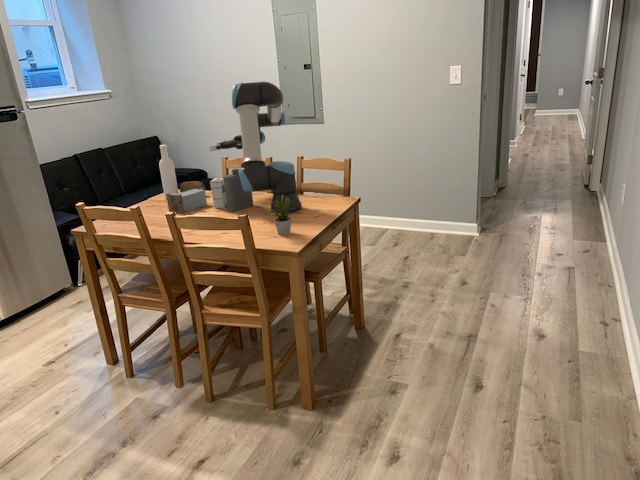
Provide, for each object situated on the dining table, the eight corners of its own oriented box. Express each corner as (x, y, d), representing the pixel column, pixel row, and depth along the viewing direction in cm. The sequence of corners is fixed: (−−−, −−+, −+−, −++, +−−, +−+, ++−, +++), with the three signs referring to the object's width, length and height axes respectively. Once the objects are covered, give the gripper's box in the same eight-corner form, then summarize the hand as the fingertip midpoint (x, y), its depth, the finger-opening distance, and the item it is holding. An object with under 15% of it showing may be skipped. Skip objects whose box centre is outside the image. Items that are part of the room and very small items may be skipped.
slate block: (206, 204, 266) (204, 190, 264) (184, 212, 255) (181, 196, 253) (197, 203, 271) (194, 188, 268) (174, 210, 260) (171, 195, 257)
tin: (180, 196, 288) (178, 182, 285) (183, 195, 290) (180, 181, 288) (204, 196, 284) (202, 181, 281) (207, 195, 287) (204, 180, 284)
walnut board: (184, 211, 255) (181, 194, 252) (181, 212, 254) (178, 195, 251) (172, 209, 261) (169, 192, 258) (168, 210, 259) (165, 193, 256)
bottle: (161, 199, 283) (152, 146, 273) (170, 196, 290) (161, 143, 280) (173, 200, 280) (164, 146, 270) (182, 196, 287) (173, 143, 277)
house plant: (266, 228, 219) (262, 192, 213) (298, 225, 219) (295, 189, 214) (265, 239, 205) (261, 200, 200) (299, 236, 206) (296, 197, 200)
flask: (248, 204, 261) (243, 165, 254) (255, 205, 257) (251, 166, 250) (224, 211, 251) (219, 171, 245) (231, 212, 247) (226, 172, 241)
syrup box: (224, 208, 256) (220, 180, 252) (213, 208, 258) (209, 180, 253) (228, 205, 262) (224, 177, 257) (217, 205, 263) (214, 178, 258)
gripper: (251, 148, 279) (219, 156, 261) (235, 147, 286) (203, 155, 269) (250, 135, 276) (217, 141, 259) (233, 134, 284) (201, 141, 266)
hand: (210, 148), depth 264 cm, fingers closed
